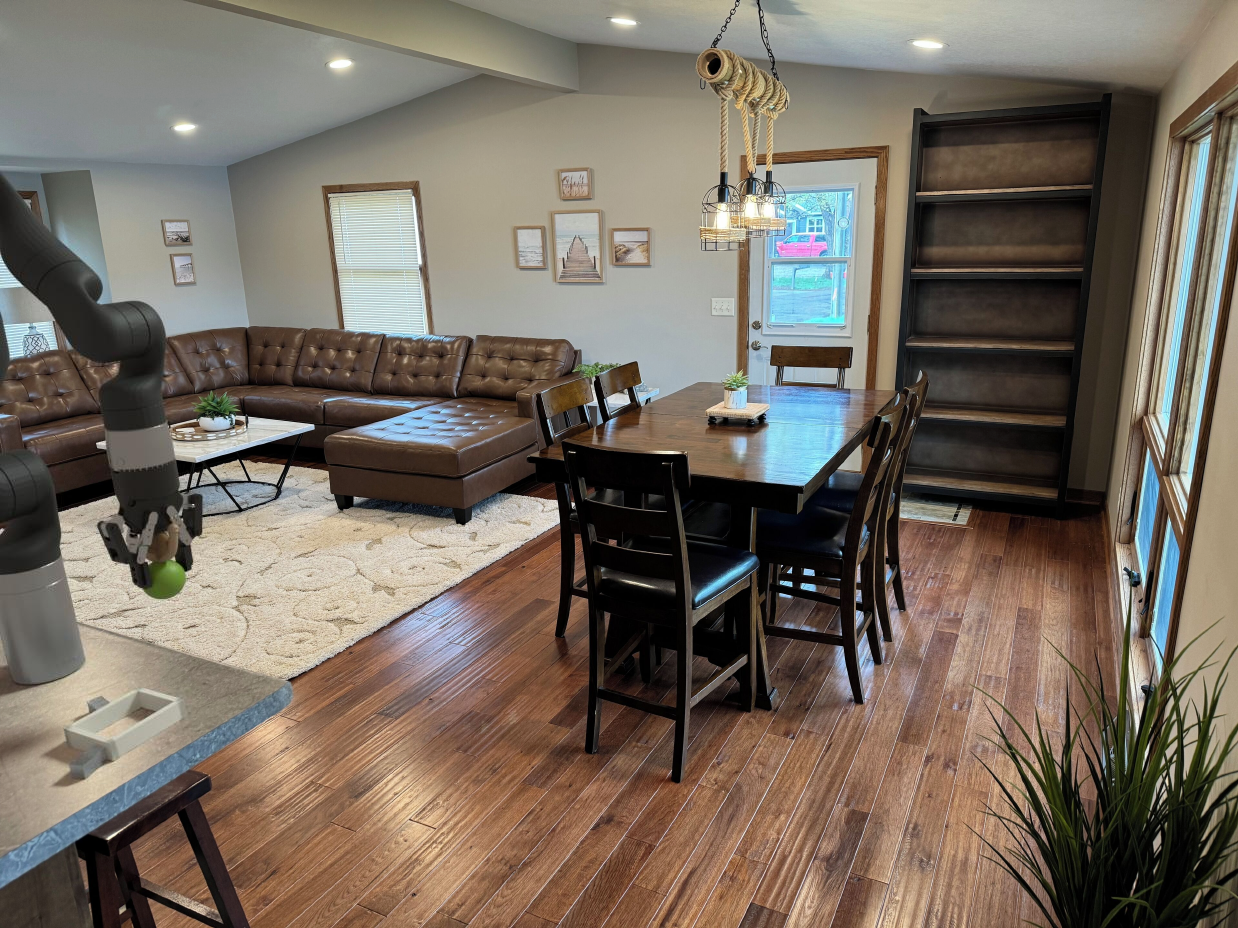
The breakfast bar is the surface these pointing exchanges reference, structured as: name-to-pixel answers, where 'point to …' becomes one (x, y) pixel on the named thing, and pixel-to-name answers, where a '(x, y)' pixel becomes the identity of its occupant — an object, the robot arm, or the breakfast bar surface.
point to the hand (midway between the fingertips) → (164, 578)
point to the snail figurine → (165, 564)
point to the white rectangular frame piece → (112, 749)
